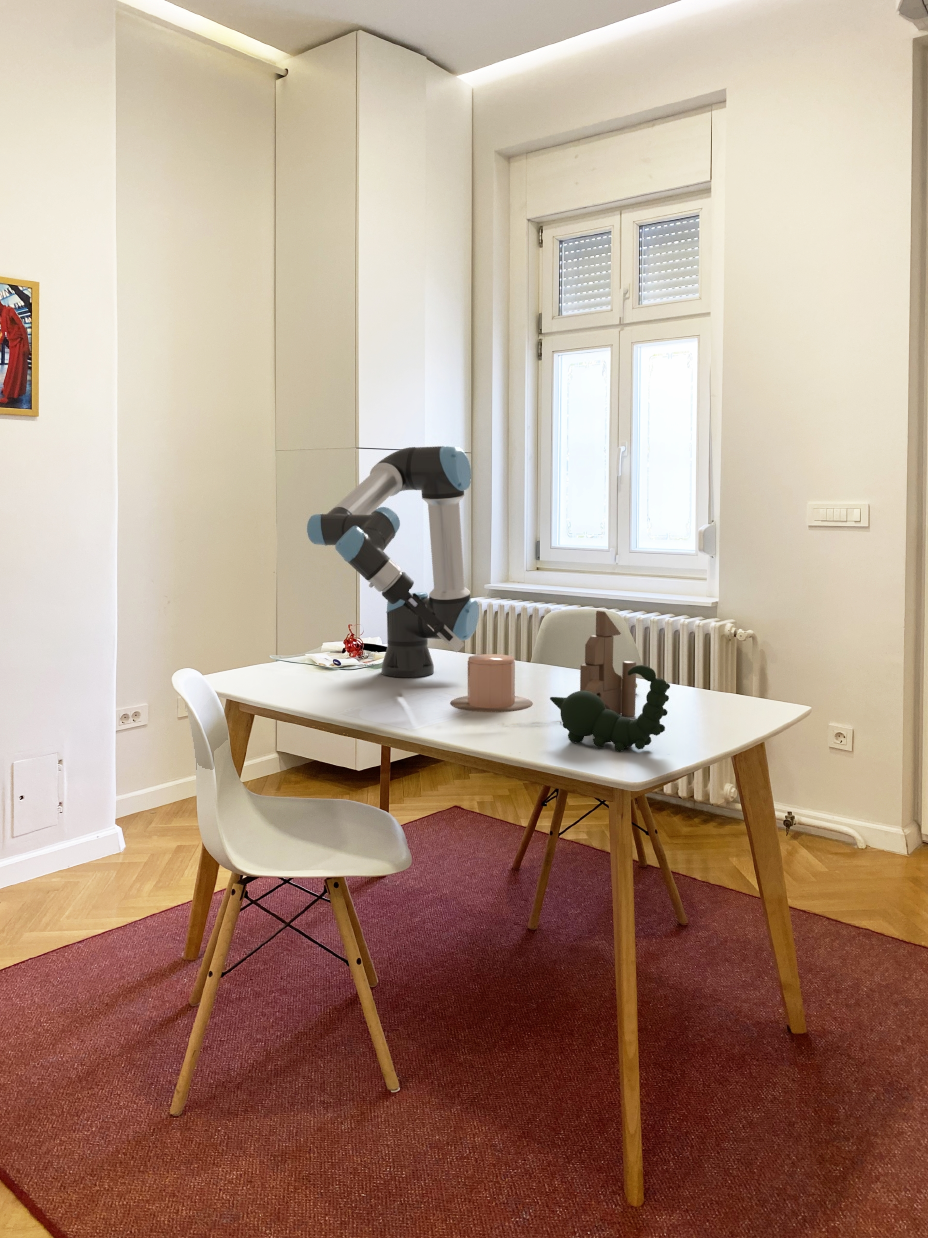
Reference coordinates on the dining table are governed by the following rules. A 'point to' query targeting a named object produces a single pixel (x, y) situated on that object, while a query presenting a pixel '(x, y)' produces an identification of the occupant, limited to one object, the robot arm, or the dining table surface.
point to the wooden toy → (607, 670)
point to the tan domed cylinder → (491, 681)
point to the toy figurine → (614, 715)
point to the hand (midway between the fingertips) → (455, 643)
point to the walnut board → (464, 705)
